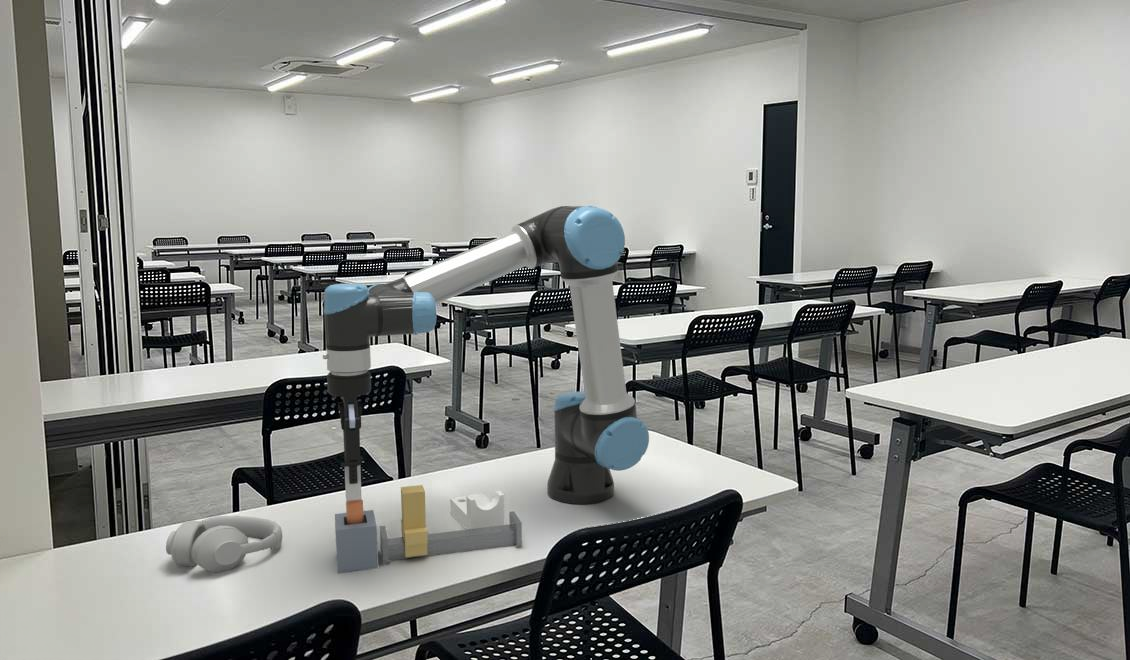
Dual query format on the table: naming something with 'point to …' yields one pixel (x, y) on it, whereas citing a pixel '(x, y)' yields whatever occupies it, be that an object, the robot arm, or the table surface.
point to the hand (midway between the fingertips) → (353, 498)
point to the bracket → (478, 510)
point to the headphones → (221, 541)
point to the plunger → (354, 511)
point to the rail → (457, 540)
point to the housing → (356, 543)
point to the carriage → (414, 520)
